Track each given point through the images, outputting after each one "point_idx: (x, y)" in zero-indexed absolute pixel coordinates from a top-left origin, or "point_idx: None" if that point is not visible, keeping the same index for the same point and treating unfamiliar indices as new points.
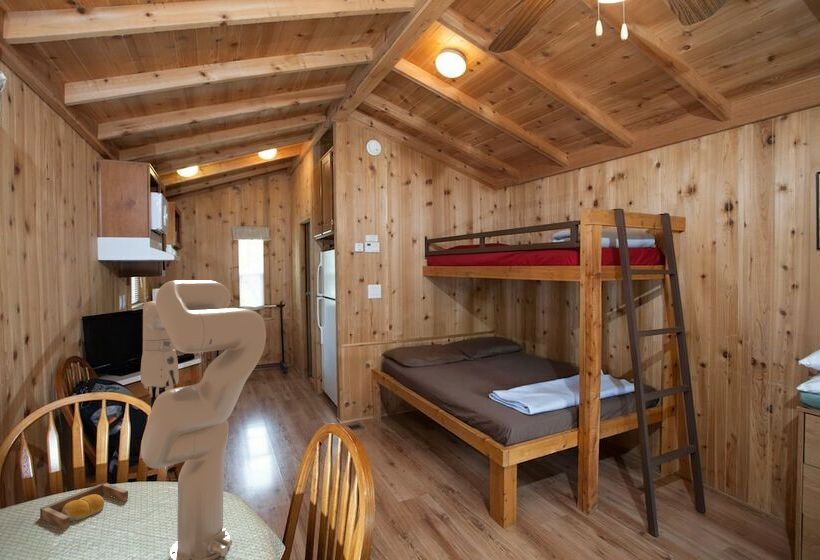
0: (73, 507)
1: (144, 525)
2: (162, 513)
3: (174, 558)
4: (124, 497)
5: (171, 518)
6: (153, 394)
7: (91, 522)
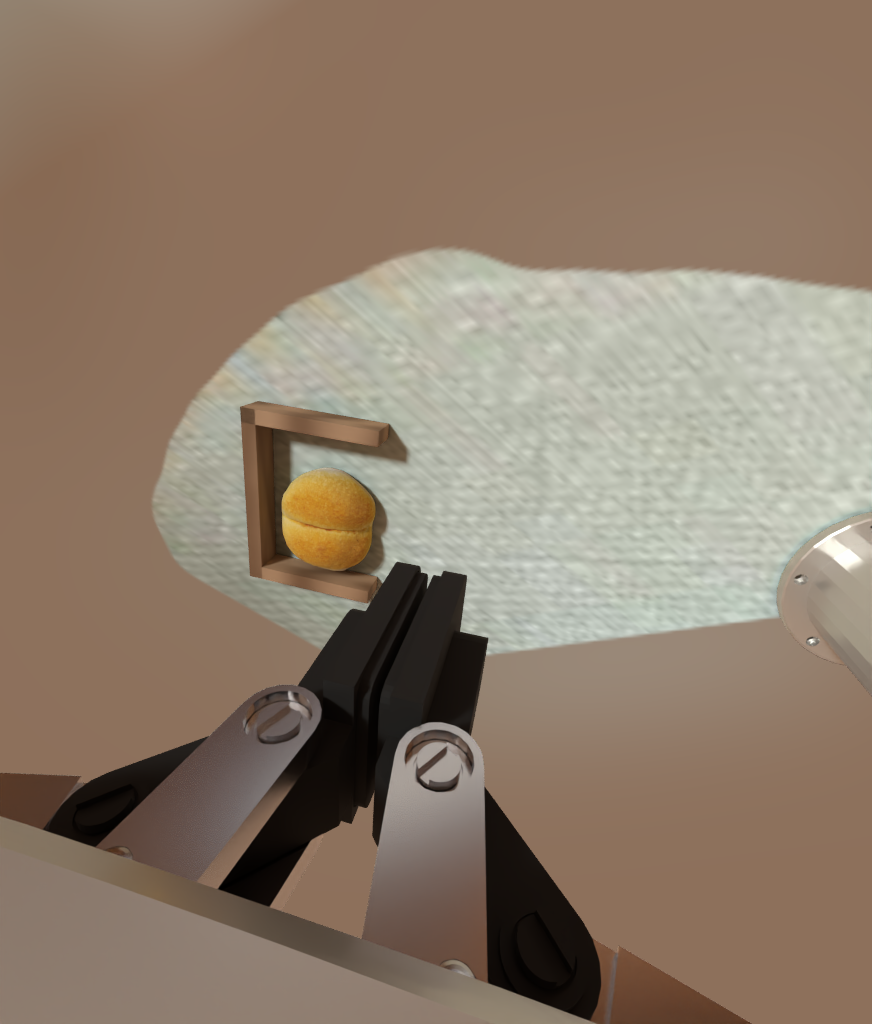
0: (334, 565)
1: (581, 527)
2: (585, 459)
3: (833, 659)
4: (384, 439)
5: (643, 475)
6: (312, 839)
7: (411, 549)
